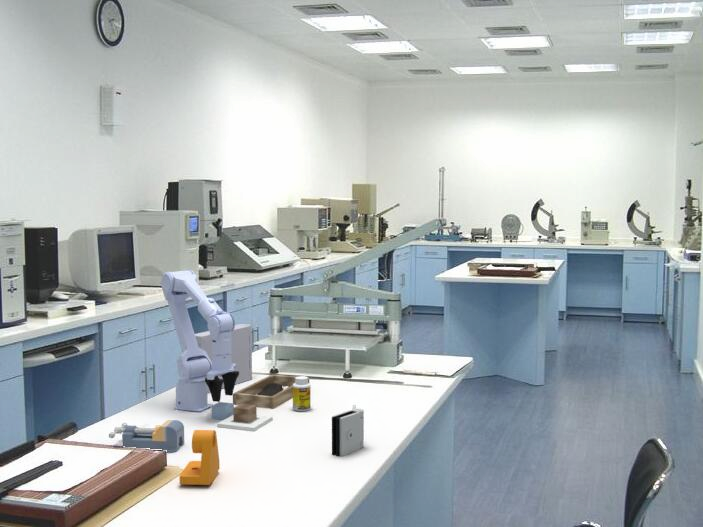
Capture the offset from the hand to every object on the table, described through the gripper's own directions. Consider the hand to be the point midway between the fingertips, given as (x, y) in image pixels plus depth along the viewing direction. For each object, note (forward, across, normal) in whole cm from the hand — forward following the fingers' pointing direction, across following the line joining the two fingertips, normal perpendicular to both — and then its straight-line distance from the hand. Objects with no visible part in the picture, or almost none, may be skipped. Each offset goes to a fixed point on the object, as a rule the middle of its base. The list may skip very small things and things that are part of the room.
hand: (222, 398), depth 243 cm
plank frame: (+6, +28, -3) cm, 29 cm away
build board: (+6, -4, -9) cm, 12 cm away
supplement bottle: (+6, +16, -19) cm, 26 cm away
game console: (+6, +34, +19) cm, 40 cm away
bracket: (+6, -48, -21) cm, 53 cm away
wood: (+6, +29, -2) cm, 30 cm away
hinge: (+6, -14, -46) cm, 48 cm away
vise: (+6, -31, +5) cm, 32 cm away
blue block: (+6, 0, 0) cm, 6 cm away
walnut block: (+5, -3, -9) cm, 11 cm away
